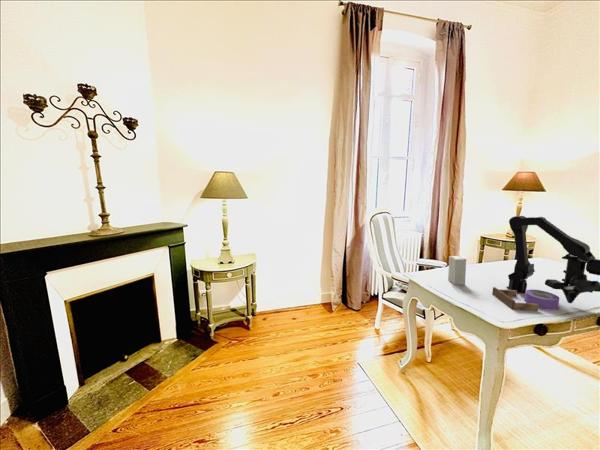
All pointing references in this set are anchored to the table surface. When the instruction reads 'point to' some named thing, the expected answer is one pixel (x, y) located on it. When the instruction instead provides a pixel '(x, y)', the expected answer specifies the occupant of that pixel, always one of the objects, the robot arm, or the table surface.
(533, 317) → the table surface
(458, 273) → the skincare box
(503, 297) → the brown flat open tray
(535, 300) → the tape roll
